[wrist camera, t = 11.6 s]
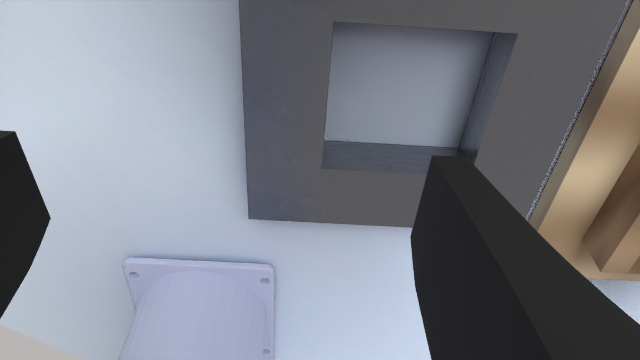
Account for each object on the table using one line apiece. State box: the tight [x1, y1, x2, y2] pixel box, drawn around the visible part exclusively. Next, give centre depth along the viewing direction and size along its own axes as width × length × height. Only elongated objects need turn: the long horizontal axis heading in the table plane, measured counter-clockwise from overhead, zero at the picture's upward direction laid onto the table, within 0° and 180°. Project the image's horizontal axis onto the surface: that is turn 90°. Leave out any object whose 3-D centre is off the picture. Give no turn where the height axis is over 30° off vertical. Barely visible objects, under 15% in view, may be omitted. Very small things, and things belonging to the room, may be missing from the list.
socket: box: [239, 0, 627, 227], centre depth 18 cm, size 12×12×2 cm
